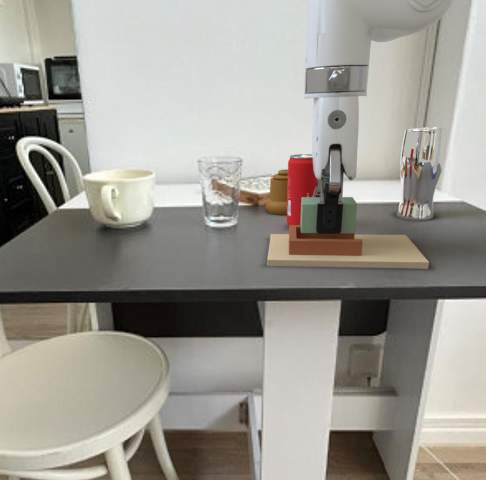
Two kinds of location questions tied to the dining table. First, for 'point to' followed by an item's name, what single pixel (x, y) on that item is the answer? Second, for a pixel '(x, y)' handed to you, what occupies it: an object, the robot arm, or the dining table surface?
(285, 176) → the brown bell
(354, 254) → the base pad
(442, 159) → the beer glass
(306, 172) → the beverage can
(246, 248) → the dining table surface
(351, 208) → the green rectangular block
